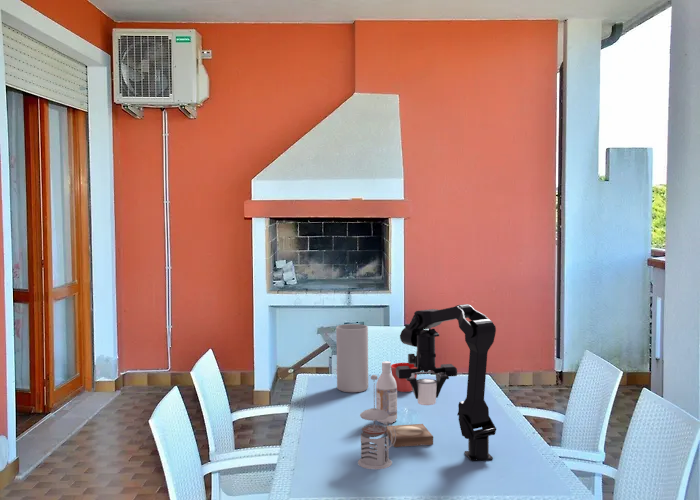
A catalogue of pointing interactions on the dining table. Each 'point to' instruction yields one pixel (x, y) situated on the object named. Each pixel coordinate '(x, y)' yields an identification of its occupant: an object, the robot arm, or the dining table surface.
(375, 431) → the french press
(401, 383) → the flower pot
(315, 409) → the dining table surface
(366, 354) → the cylinder vase
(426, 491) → the dining table surface
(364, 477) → the dining table surface
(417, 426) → the walnut plinth
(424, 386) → the white cup
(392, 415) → the bath foam
